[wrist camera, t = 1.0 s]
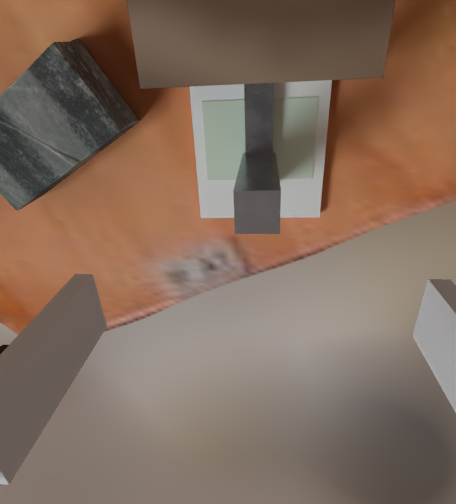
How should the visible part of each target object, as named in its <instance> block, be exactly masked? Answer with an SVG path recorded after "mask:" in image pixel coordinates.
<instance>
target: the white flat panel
mask: <svg viewBox="0 0 456 504" xmlns="http://www.w3.org/2000/svg"><path fill="white" fill-rule="evenodd" d="M331 85H332V80H322V81H300V82H278V83H274V104H273V153H276V159H277V166H278V173H279V180H280V187H281V205H280V218H292V217H320V207H321V196H322V185H323V174H324V163H325V152H326V140H327V129H328V118H329V107H330V96H331ZM190 98H191V110H192V121H193V132H194V144H195V155H196V167H197V178H198V189H199V201H200V212H201V218H234V195H233V190H234V186H235V182H236V178H237V175H238V171H239V167H240V163H241V159H242V155H243V154H244V153H246V152H245V100H244V84H235V85H213V86H191V87H190Z"/></svg>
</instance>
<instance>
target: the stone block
mask: <svg viewBox="0 0 456 504" xmlns="http://www.w3.org/2000/svg"><path fill="white" fill-rule="evenodd" d="M138 122H139V120H138V119H137V117H136V116H135V114H134V113H133V111H132V110H131V109H130V107H129V106H128V105H127V103H126V102H125V101H124V99H123V98H122V96H121V95H120V94H119V92H118V91H117V90H116V88H115V87H114V86H113V84H112V83H111V82H110V80H109V79H108V78H107V76H106V75H105V74H104V72H103V71H102V69H101V68H100V67H99V66H98V64H97V63H96V62H95V60H94V59H93V58H92V56H91V55H90V54H89V52H88V50H87V48H86V46H85V45H84V44H83V43H82V42H81V41H80V40H79V39H75V40H72V41H71V42H54V43H53V44H52V45H51V46H49V47H48V48H47V49H46V50H45V51H44V53H43V54H42V55H41V56H40V57H39V58H38V59H37V60H36V61H35V62H34V63H33V64H32V65H31V66H30V67H29V68H28V69H27V70H26V71H25V72H24V73H23V74H22V75H21V76H20V77H19V78H18V79H17V80H16V81H15V82H14V83H13V84H12V85H11V86H10V87H9V88H8V89H6V90H5V91H4V92H3V93H2V94H1V95H0V193H1V195H2V196H3V197H4V198H5V199H6V200H7V201H8V202H9V203H10V204H11V205H12V206H13V207H14V208H15V209H16V210H19V209H21V208H23V207H24V206H26V205H28V204H29V203H31V202H33V201H34V200H36V199H38V198H39V197H41V196H42V195H44V194H45V193H46V192H48V191H49V190H50V189H52V188H53V187H54V186H56V185H57V184H58V183H59V182H61V181H62V180H63V179H65V178H66V177H67V176H69V175H70V174H71V173H73V172H74V171H75V170H77V169H78V168H79V167H80V166H82V165H83V164H84V163H85V162H87V161H88V160H89V159H90V158H92V157H93V156H95V155H96V154H97V153H98V152H100V151H101V150H103V149H104V148H105V147H106V146H108V145H109V144H110V143H112V142H113V141H114V140H116V139H117V138H118V137H119V136H121V135H122V134H123V133H125V132H126V131H127V130H129V129H130V128H131V127H133V126H134V125H135V124H137V123H138Z"/></svg>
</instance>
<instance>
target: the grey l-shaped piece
mask: <svg viewBox="0 0 456 504" xmlns="http://www.w3.org/2000/svg"><path fill="white" fill-rule="evenodd" d="M244 100H245V152H246V153H244V154H243V155H242V159H241V163H240V167H239V171H238V175H237V178H236V182H235V186H234V190H233V195H234V222H235V234H280V205H281V187H280V180H279V173H278V166H277V159H276V153H273V104H274V83H257V84H244Z"/></svg>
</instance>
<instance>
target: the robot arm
mask: <svg viewBox="0 0 456 504" xmlns="http://www.w3.org/2000/svg"><path fill="white" fill-rule="evenodd" d="M106 327H107V325H106V321H105V318H104V314H103V310H102V306H101V303H100V299H99V295H98V292H97V288H96V284H95V280H94V277H93V274H75V275H74V276H73V277H72V278H71V279H70V280H69V282H68V283H67V284H66V285H65V286H64V287H63V288H62V289H61V290H60V291H59V292H58V293H57V294H56V295H55V297H54V298H53V299H52V300H51V301H50V302H49V303H48V304H47V305H46V306H45V307H44V308H43V309H42V310H41V312H40V313H39V314H38V315H37V316H36V317H35V318H34V319H33V320H32V321H31V322H30V323H29V324H28V325H27V327H26V328H25V329H24V330H23V331H22V332H21V333H20V334H19V335H18V336H17V337H16V339H14V340H13V341H12V343H11V344H10V345H2V346H0V484H7V485H9V484H10V483H11V481H12V479H13V478H14V476H15V474H16V473H17V471H18V470H19V468H20V466H21V465H22V463H23V462H24V460H25V458H26V457H27V455H28V453H29V452H30V450H31V449H32V447H33V445H34V444H35V442H36V440H37V439H38V437H39V436H40V434H41V432H42V431H43V429H44V427H45V426H46V424H47V423H48V421H49V419H50V418H51V416H52V415H53V413H54V411H55V410H56V408H57V406H58V405H59V403H60V402H61V400H62V398H63V397H64V395H65V394H66V392H67V390H68V389H69V387H70V385H71V384H72V382H73V381H74V379H75V377H76V376H77V374H78V373H79V371H80V369H81V368H82V366H83V364H84V363H85V361H86V360H87V358H88V356H89V355H90V353H91V351H92V350H93V348H94V347H95V345H96V343H97V342H98V340H99V338H100V336H101V335H102V334H103V332H104V330H105V329H106ZM413 337H414V339H415V341H416V343H417V345H418V346H419V348H420V350H421V352H422V354H423V355H424V357H425V359H426V360H427V362H428V364H429V366H430V368H431V369H432V371H433V373H434V375H435V377H436V379H437V380H438V382H439V384H440V386H441V387H442V389H443V391H444V393H445V395H446V396H447V398H448V400H449V401H450V403H451V405H452V407H453V409H454V410H455V412H456V286H455V284H454V283H453V282H452V281H451V280H441V279H439V280H438V279H429V280H428V282H427V286H426V290H425V293H424V297H423V301H422V304H421V308H420V311H419V315H418V319H417V322H416V326H415V329H414V333H413Z"/></svg>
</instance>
